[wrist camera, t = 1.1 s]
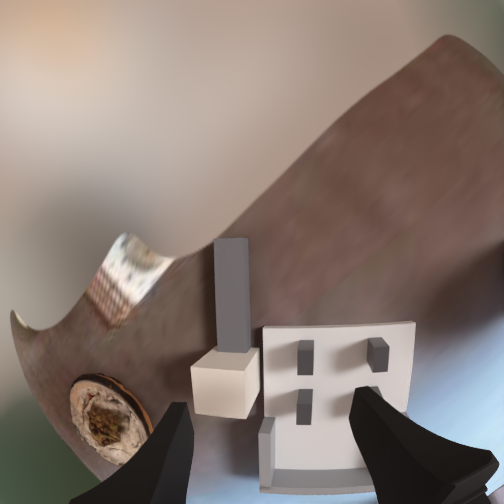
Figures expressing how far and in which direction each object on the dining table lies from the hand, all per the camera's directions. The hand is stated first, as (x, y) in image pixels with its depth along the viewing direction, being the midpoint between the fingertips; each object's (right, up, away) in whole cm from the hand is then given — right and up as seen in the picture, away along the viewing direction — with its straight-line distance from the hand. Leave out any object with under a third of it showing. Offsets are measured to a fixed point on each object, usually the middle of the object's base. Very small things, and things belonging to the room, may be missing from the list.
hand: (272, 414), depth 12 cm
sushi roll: (-17, -13, +18) cm, 29 cm away
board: (+7, -7, +13) cm, 16 cm away
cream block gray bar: (-2, +1, +15) cm, 15 cm away
